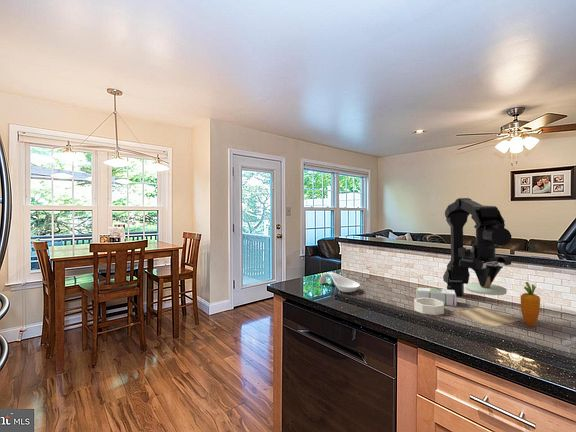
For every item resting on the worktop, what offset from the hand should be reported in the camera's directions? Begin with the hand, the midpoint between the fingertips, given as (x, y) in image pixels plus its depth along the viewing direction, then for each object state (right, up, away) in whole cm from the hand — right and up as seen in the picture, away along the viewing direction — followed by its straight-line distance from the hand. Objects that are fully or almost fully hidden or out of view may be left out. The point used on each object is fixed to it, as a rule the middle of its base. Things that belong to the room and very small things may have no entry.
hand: (485, 285), depth 104 cm
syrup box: (-16, -9, +20) cm, 27 cm away
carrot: (+9, -12, -8) cm, 17 cm away
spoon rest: (-45, -12, +43) cm, 63 cm away
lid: (0, -2, 0) cm, 2 cm away
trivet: (0, -12, 0) cm, 12 cm away
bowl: (-16, -12, +8) cm, 22 cm away
